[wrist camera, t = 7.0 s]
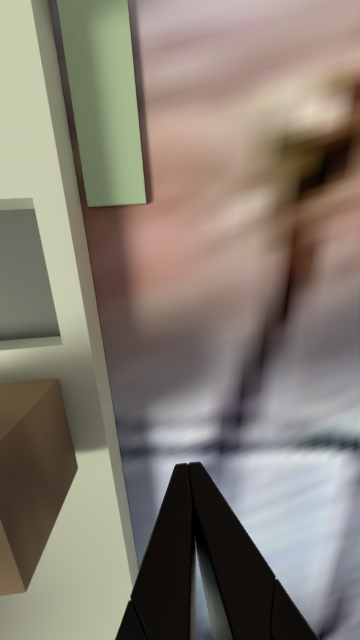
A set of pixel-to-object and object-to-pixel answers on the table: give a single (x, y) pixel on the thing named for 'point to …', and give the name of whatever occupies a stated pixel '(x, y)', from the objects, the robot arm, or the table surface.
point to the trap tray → (67, 291)
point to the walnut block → (31, 475)
